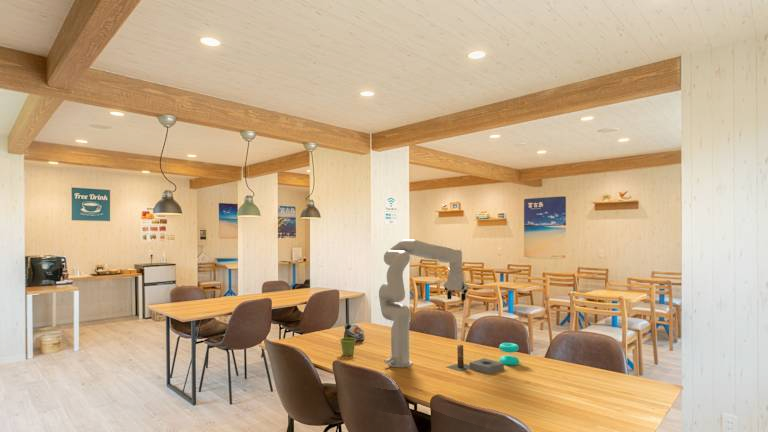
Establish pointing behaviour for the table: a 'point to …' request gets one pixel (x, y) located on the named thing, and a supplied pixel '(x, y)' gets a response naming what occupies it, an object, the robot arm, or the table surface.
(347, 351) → the plant pot
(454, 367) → the mat
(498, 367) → the socket block
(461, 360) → the dowel
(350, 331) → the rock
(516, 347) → the donuts
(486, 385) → the table surface
